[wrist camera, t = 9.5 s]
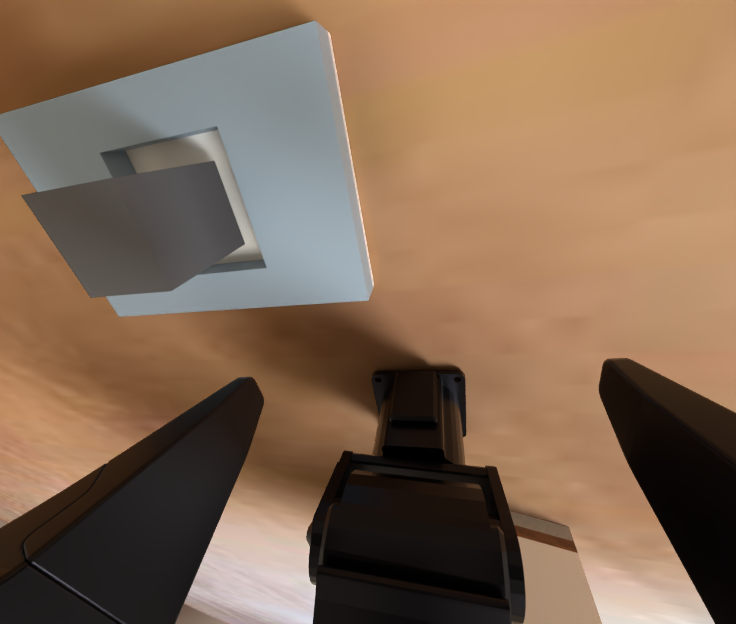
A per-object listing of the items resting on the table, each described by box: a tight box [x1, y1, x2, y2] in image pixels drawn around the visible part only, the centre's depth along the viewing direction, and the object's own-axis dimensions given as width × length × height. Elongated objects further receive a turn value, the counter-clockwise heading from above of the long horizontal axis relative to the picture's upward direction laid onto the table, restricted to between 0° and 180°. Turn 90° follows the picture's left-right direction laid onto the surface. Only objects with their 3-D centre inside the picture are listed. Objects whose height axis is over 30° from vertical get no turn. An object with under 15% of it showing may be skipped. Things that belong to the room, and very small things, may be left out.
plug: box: [21, 161, 245, 298], centre depth 15 cm, size 4×4×7 cm
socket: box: [0, 21, 374, 317], centre depth 17 cm, size 12×18×2 cm, turn 100°
